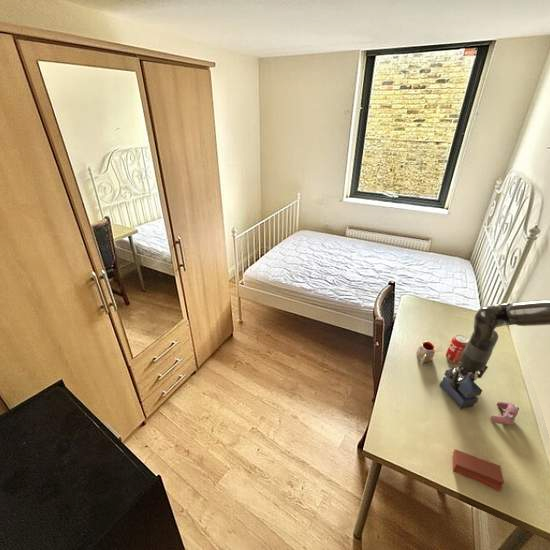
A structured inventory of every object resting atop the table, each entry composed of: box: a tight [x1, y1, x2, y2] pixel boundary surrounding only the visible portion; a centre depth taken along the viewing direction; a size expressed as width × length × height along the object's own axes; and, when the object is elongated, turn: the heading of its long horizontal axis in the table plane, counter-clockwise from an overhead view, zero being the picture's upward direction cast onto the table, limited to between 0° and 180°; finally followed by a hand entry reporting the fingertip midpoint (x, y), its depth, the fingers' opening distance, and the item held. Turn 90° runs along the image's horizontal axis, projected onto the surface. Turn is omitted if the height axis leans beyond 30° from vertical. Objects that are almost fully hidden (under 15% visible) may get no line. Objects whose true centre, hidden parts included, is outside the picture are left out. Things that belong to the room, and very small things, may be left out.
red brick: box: [452, 448, 505, 492], centre depth 87 cm, size 12×6×4 cm, turn 63°
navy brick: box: [439, 376, 479, 410], centre depth 111 cm, size 12×7×5 cm, turn 13°
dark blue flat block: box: [444, 367, 483, 398], centre depth 109 cm, size 11×6×2 cm, turn 13°
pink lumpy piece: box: [489, 401, 520, 425], centre depth 103 cm, size 10×5×7 cm, turn 132°
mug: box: [416, 341, 436, 366], centre depth 127 cm, size 12×7×7 cm, turn 142°
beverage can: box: [445, 334, 470, 364], centre depth 126 cm, size 6×6×12 cm
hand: (460, 386), depth 110 cm, fingers closed on dark blue flat block, 6 cm apart
